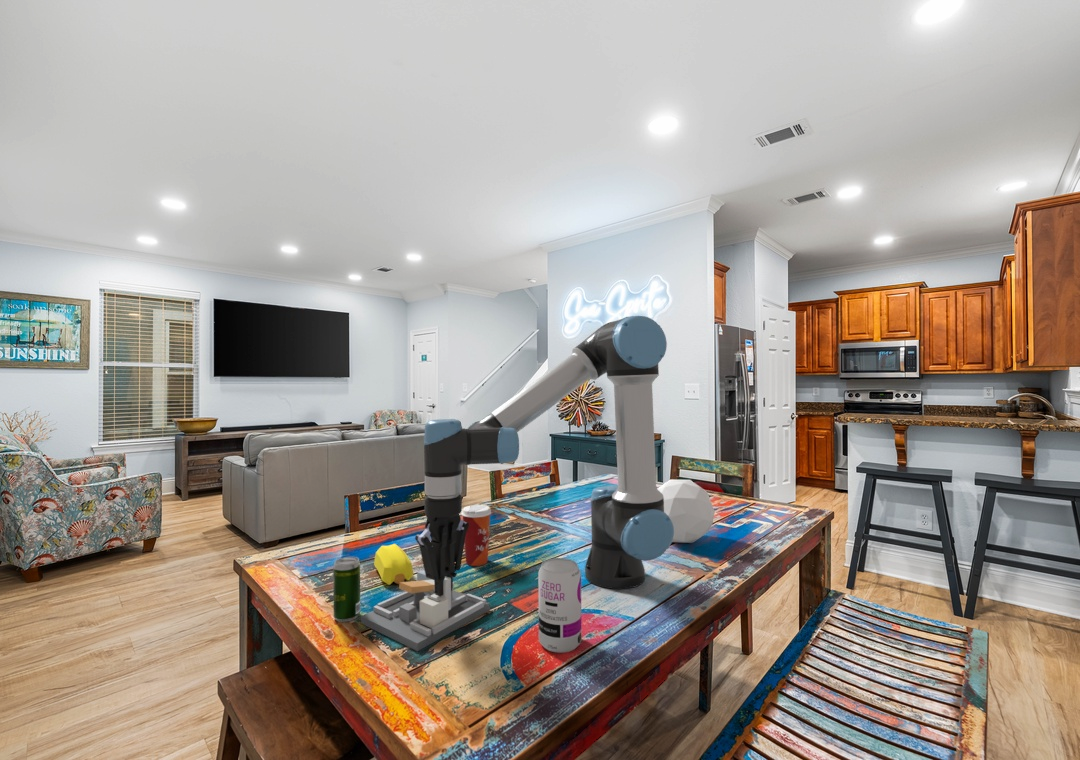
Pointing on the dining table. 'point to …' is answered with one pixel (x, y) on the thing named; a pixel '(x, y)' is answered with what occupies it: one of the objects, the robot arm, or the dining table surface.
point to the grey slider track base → (403, 618)
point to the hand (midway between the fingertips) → (443, 608)
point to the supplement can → (559, 605)
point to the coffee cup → (477, 534)
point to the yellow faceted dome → (393, 564)
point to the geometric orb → (687, 509)
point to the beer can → (346, 589)
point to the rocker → (418, 586)
